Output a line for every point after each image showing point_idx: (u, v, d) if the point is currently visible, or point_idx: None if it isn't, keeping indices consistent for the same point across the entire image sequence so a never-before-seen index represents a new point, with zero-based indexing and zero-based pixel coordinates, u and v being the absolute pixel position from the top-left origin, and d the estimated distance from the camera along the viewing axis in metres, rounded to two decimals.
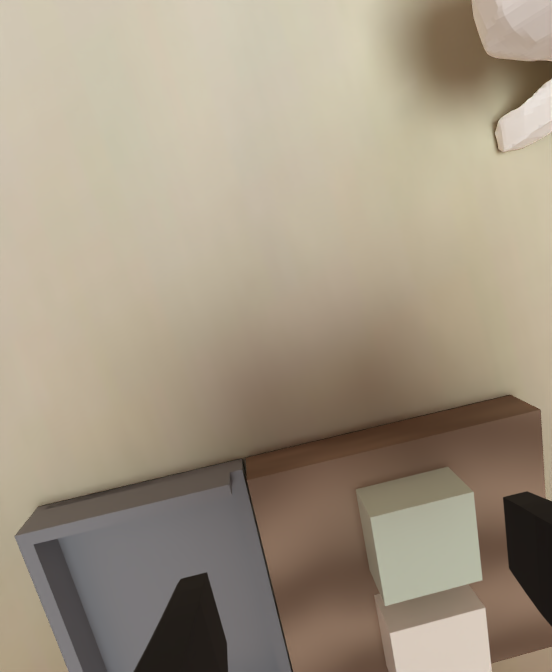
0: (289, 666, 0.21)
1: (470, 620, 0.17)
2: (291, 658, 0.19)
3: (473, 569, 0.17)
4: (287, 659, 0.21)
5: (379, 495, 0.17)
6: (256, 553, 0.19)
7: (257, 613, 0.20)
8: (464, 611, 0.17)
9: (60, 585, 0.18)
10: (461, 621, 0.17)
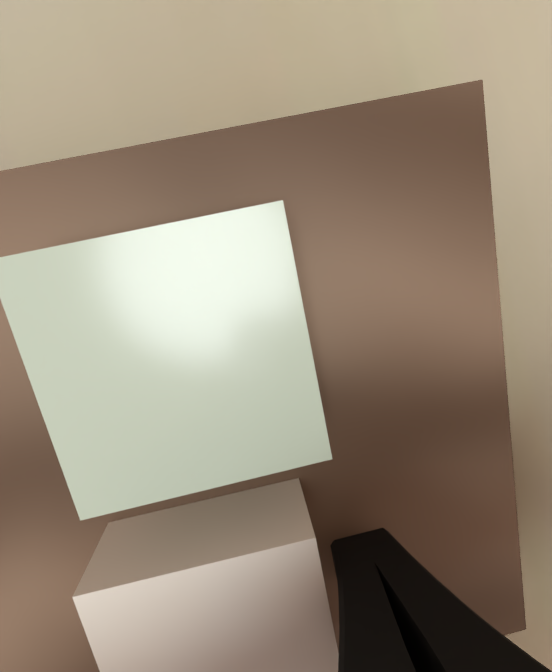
0: None
1: (281, 569, 0.07)
2: None
3: (305, 429, 0.07)
4: None
5: None
6: None
7: None
8: (266, 545, 0.07)
9: None
10: (258, 570, 0.07)
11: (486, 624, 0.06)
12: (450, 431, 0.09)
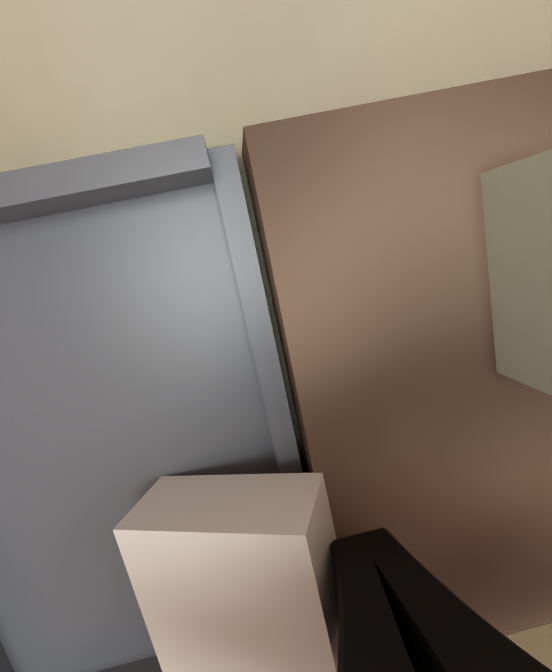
0: None
1: (273, 555, 0.08)
2: None
3: None
4: None
5: None
6: (264, 346, 0.09)
7: None
8: (261, 530, 0.08)
9: None
10: (252, 549, 0.08)
11: (487, 624, 0.06)
12: None
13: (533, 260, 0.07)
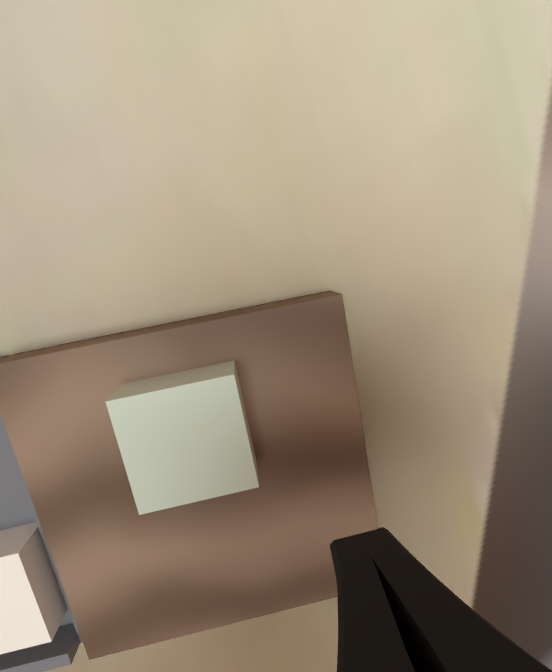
0: None
1: (3, 567, 0.16)
2: (65, 589, 0.17)
3: (245, 473, 0.14)
4: None
5: (138, 385, 0.14)
6: None
7: None
8: None
9: None
10: None
11: (487, 624, 0.06)
12: (334, 469, 0.17)
13: None
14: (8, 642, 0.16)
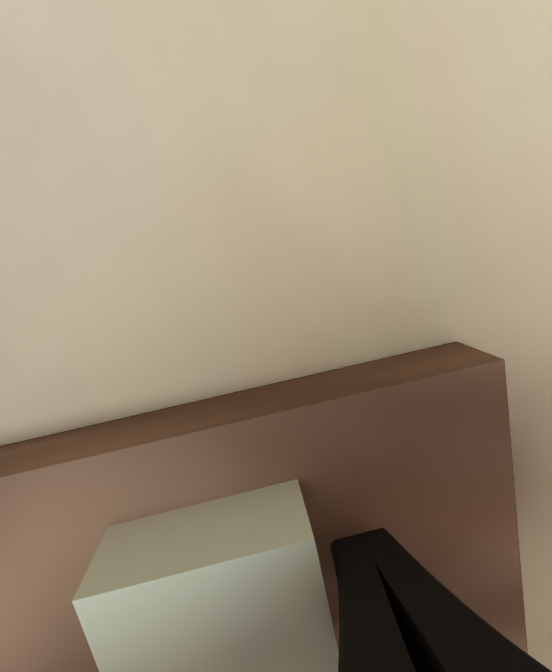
0: None
1: None
2: None
3: None
4: None
5: (135, 542, 0.08)
6: None
7: None
8: None
9: None
10: None
11: (486, 624, 0.06)
12: None
13: None
14: None
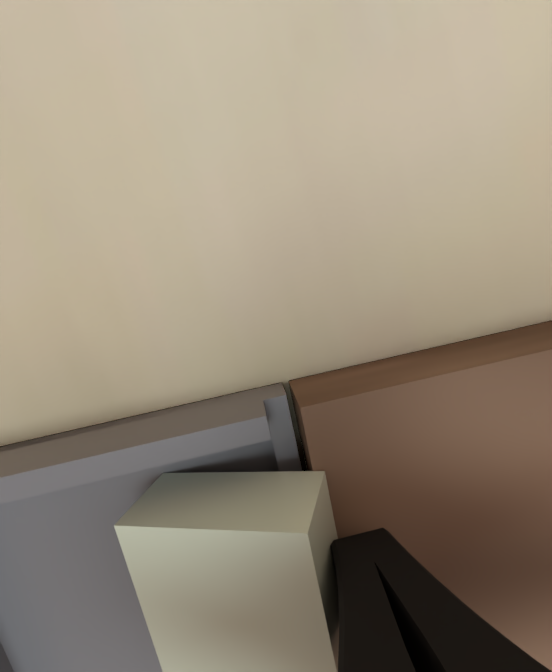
0: None
1: None
2: None
3: None
4: None
5: (173, 492, 0.09)
6: None
7: None
8: None
9: None
10: None
11: (486, 624, 0.06)
12: None
13: None
14: None
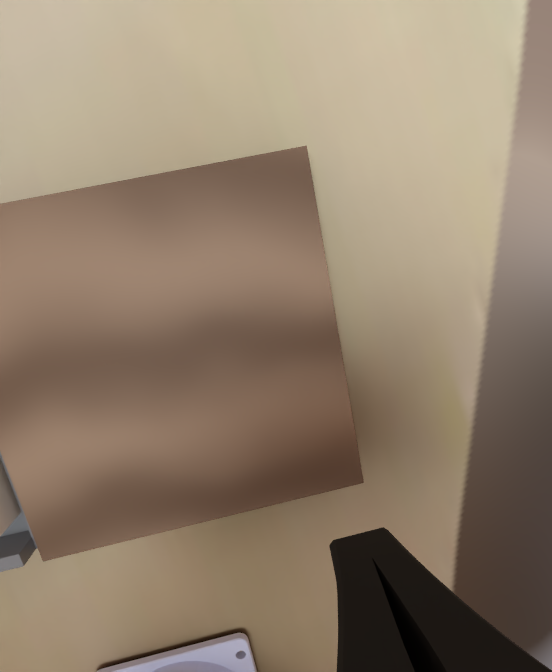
0: None
1: None
2: (14, 481, 0.15)
3: None
4: None
5: None
6: None
7: None
8: None
9: None
10: None
11: (487, 624, 0.06)
12: (303, 350, 0.15)
13: None
14: None
